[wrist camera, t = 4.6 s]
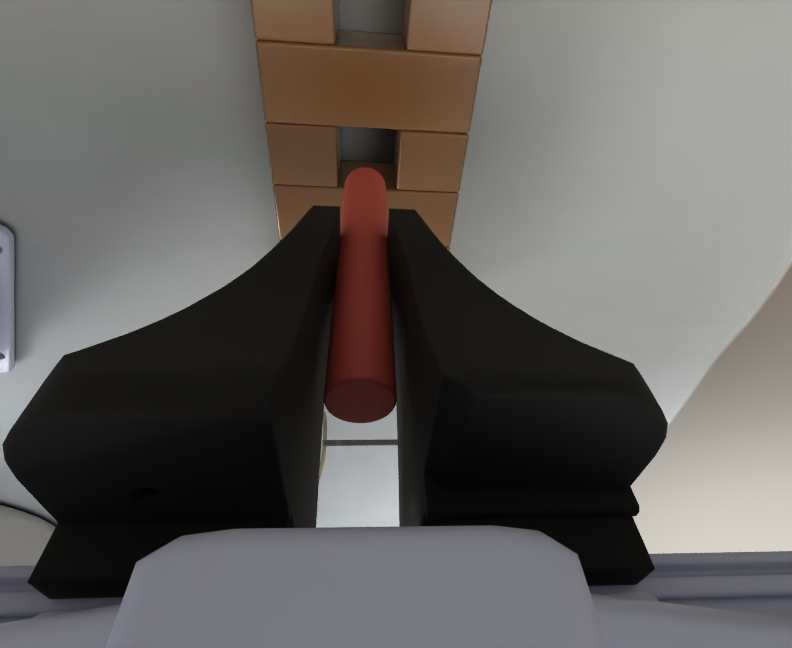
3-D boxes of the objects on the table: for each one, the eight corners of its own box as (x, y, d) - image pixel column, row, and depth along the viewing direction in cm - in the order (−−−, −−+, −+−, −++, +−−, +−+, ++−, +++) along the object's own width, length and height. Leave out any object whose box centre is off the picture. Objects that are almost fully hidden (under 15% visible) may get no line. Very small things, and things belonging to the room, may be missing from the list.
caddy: (430, 295, 22) (436, 328, 20) (296, 291, 21) (289, 325, 19) (497, -147, 12) (519, -159, 10) (249, -173, 11) (226, -189, 10)
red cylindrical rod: (374, 211, 14) (376, 431, 8) (338, 194, 13) (311, 413, 7) (392, 178, 13) (410, 391, 7) (355, 159, 13) (342, 369, 7)
